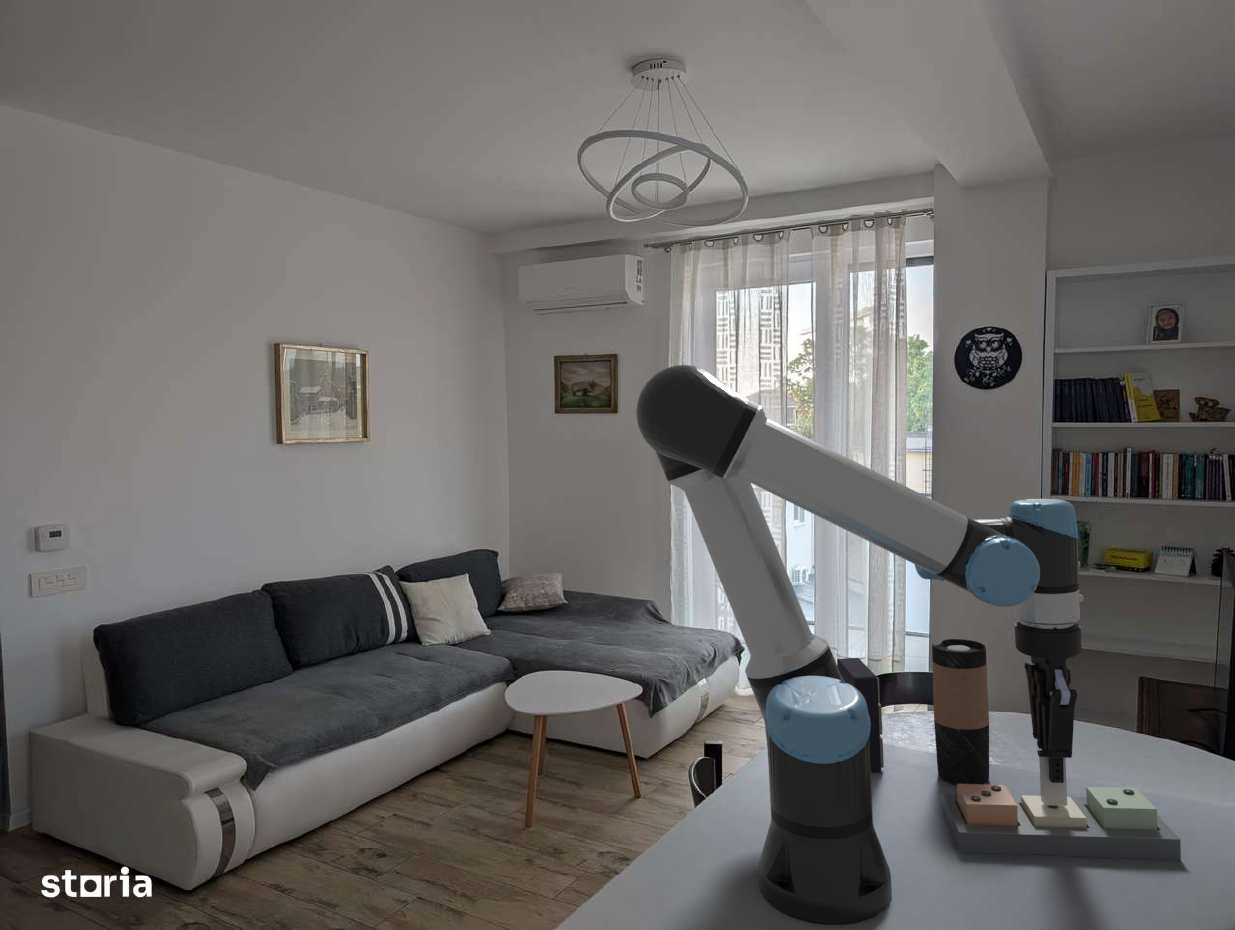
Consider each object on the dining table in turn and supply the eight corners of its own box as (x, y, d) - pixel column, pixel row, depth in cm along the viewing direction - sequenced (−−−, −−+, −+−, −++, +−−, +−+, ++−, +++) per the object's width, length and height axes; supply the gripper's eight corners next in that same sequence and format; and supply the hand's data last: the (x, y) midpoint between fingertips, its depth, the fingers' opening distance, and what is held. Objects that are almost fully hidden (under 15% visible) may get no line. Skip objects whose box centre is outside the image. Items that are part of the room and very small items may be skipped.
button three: (967, 826, 108) (966, 802, 108) (957, 805, 114) (956, 782, 114) (1017, 828, 107) (1017, 803, 107) (1005, 806, 113) (1004, 783, 113)
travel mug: (996, 788, 123) (992, 652, 122) (940, 787, 124) (935, 652, 123) (984, 767, 130) (980, 638, 129) (932, 765, 132) (927, 638, 131)
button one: (1035, 839, 107) (1034, 814, 107) (1021, 817, 113) (1021, 793, 113) (1087, 841, 106) (1086, 816, 106) (1070, 818, 112) (1069, 795, 112)
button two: (1104, 831, 105) (1103, 806, 105) (1086, 809, 111) (1086, 785, 111) (1157, 833, 104) (1156, 807, 104) (1137, 810, 110) (1136, 786, 110)
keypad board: (959, 851, 106) (959, 832, 106) (942, 811, 117) (942, 793, 117) (1180, 859, 102) (1180, 839, 101) (1142, 816, 112) (1141, 798, 112)
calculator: (886, 772, 130) (882, 676, 130) (858, 774, 130) (854, 678, 130) (866, 745, 141) (862, 656, 141) (840, 746, 141) (836, 658, 141)
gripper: (1098, 633, 101) (1105, 828, 102) (1062, 609, 114) (1068, 781, 115) (1030, 634, 102) (1037, 826, 103) (1002, 610, 115) (1009, 780, 116)
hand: (1054, 802), depth 109 cm, fingers closed
